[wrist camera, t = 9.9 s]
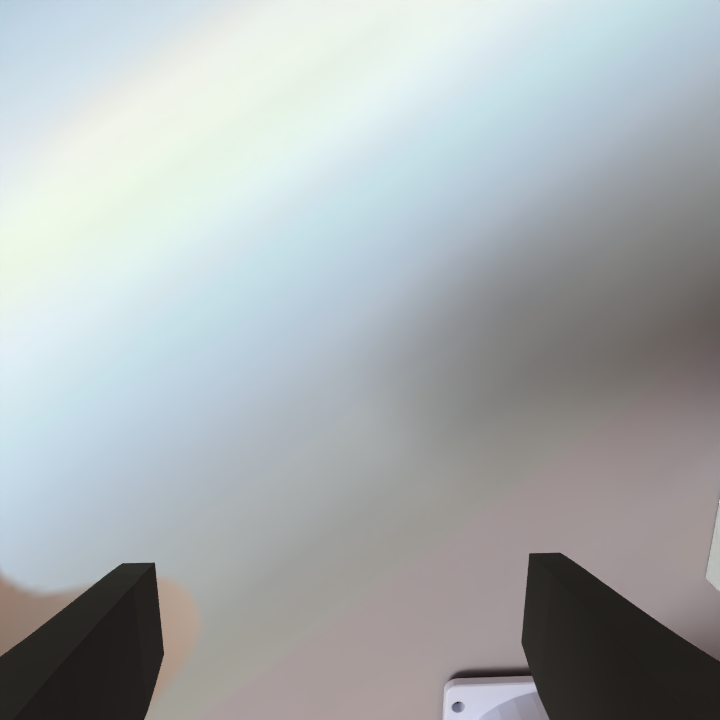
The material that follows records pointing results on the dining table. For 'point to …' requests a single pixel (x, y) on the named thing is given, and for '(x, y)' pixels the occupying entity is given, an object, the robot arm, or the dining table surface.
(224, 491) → the dining table surface
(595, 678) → the robot arm
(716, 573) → the socket plate
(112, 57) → the dining table surface
